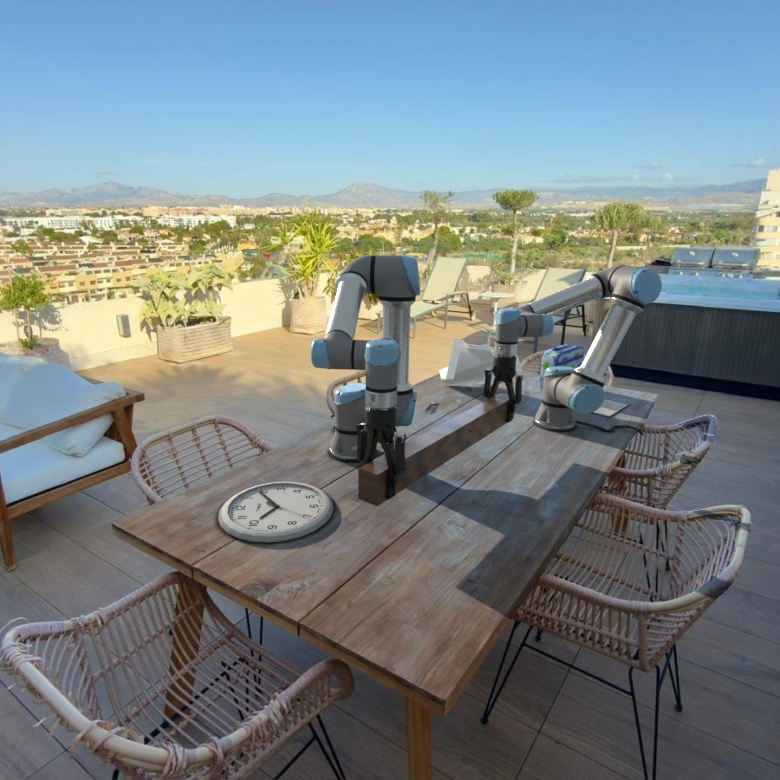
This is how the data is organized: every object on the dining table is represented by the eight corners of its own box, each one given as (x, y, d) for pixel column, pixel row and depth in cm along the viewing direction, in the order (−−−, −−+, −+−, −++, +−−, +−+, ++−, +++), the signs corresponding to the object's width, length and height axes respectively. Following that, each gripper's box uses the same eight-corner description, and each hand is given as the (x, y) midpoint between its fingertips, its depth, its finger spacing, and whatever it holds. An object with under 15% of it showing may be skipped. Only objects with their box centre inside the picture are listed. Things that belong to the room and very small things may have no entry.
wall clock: (332, 534, 126) (204, 538, 124) (332, 540, 127) (205, 544, 124) (334, 477, 155) (230, 480, 152) (334, 482, 155) (231, 485, 153)
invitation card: (608, 416, 214) (573, 407, 224) (608, 416, 214) (573, 408, 224) (628, 404, 229) (594, 396, 238) (628, 405, 229) (594, 397, 238)
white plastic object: (461, 429, 252) (437, 405, 227) (444, 352, 274) (420, 323, 250) (535, 404, 240) (518, 377, 215) (510, 326, 262) (492, 293, 237)
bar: (498, 415, 189) (500, 392, 186) (513, 418, 185) (515, 396, 183) (358, 499, 129) (358, 467, 126) (377, 506, 125) (377, 474, 123)
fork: (422, 411, 216) (422, 407, 215) (433, 400, 230) (433, 396, 230) (428, 412, 215) (429, 407, 215) (438, 401, 230) (439, 396, 229)
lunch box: (556, 397, 238) (561, 352, 232) (535, 391, 245) (539, 348, 239) (582, 385, 256) (588, 344, 249) (562, 381, 263) (567, 340, 257)
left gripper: (340, 401, 126) (342, 487, 133) (404, 419, 115) (402, 511, 122) (360, 393, 132) (361, 476, 139) (423, 410, 121) (420, 498, 128)
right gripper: (475, 352, 179) (471, 416, 186) (527, 361, 168) (520, 428, 175) (485, 349, 185) (481, 410, 192) (536, 357, 174) (530, 422, 180)
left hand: (380, 492), depth 131 cm, fingers closed on bar, 6 cm apart
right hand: (500, 419), depth 183 cm, fingers closed on bar, 6 cm apart
